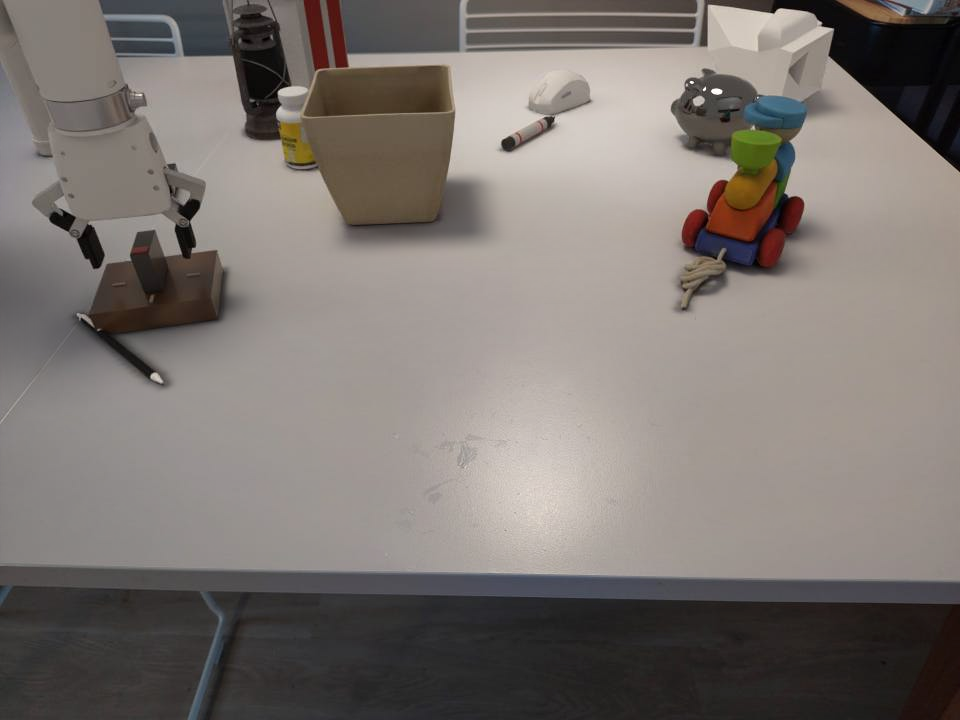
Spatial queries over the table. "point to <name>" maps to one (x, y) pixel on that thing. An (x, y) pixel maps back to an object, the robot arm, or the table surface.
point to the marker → (527, 132)
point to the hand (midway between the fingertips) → (144, 257)
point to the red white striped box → (304, 35)
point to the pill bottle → (294, 128)
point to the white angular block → (770, 49)
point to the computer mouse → (559, 92)
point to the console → (158, 295)
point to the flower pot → (382, 139)
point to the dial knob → (149, 261)
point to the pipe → (27, 96)
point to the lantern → (258, 68)
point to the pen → (121, 349)
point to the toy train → (749, 196)
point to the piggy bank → (714, 108)
